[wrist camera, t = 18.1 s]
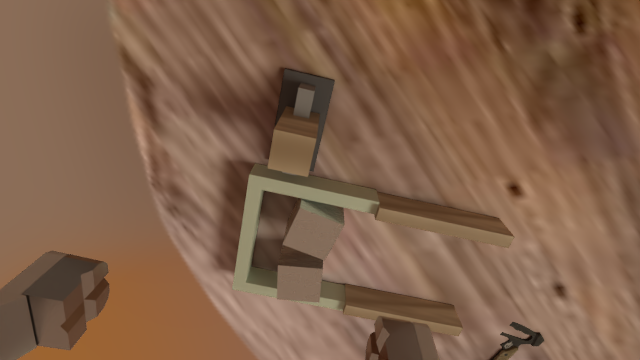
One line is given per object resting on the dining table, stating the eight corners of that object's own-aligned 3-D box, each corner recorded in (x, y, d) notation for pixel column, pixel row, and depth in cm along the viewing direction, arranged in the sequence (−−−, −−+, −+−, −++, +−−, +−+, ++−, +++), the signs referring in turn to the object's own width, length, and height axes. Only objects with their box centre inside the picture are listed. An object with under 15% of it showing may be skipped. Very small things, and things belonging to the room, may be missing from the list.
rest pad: (285, 68, 27) (284, 69, 27) (334, 80, 27) (334, 80, 27) (269, 160, 30) (268, 161, 30) (313, 169, 31) (313, 171, 30)
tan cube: (303, 186, 32) (300, 207, 28) (343, 202, 32) (344, 225, 29) (287, 219, 33) (282, 244, 30) (325, 234, 34) (324, 260, 30)
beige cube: (283, 239, 34) (277, 265, 31) (323, 242, 34) (322, 268, 31) (282, 270, 36) (277, 299, 32) (320, 273, 36) (319, 302, 32)
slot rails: (375, 191, 31) (379, 207, 29) (499, 218, 32) (514, 236, 29) (342, 292, 37) (343, 314, 34) (449, 313, 37) (458, 336, 35)
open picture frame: (255, 163, 31) (249, 174, 28) (376, 189, 31) (379, 202, 29) (238, 273, 36) (232, 289, 34) (341, 293, 37) (342, 310, 35)
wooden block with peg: (291, 80, 27) (279, 97, 21) (325, 88, 27) (323, 107, 21) (276, 160, 30) (262, 194, 24) (307, 167, 30) (301, 203, 24)
